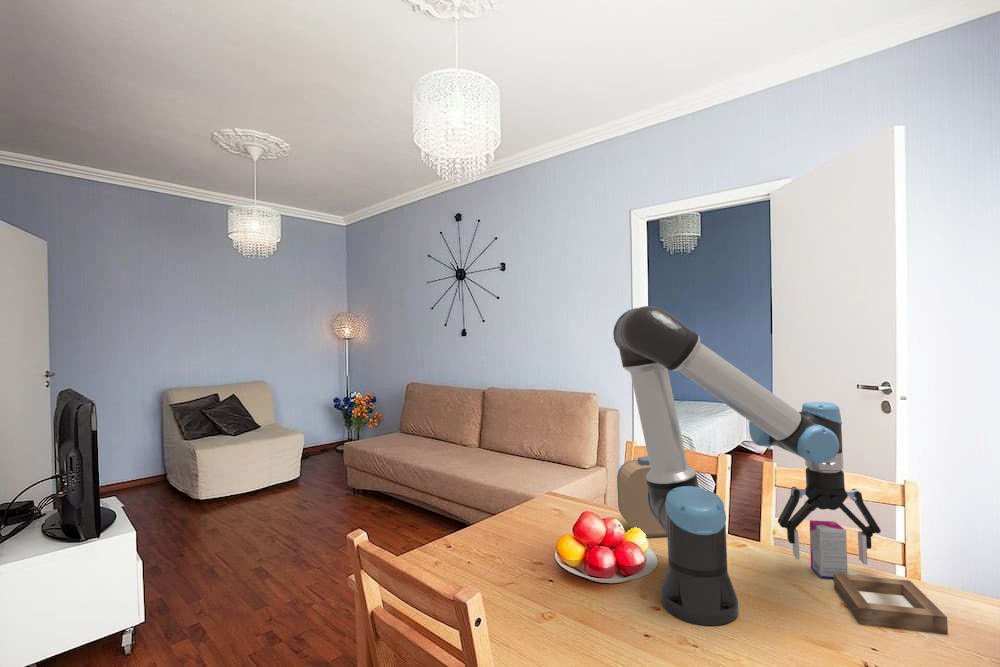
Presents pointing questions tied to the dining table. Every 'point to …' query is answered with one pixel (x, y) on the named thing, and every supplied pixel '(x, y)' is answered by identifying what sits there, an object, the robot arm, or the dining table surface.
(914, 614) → the socket block
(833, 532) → the supplement box
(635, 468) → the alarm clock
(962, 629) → the dining table surface
